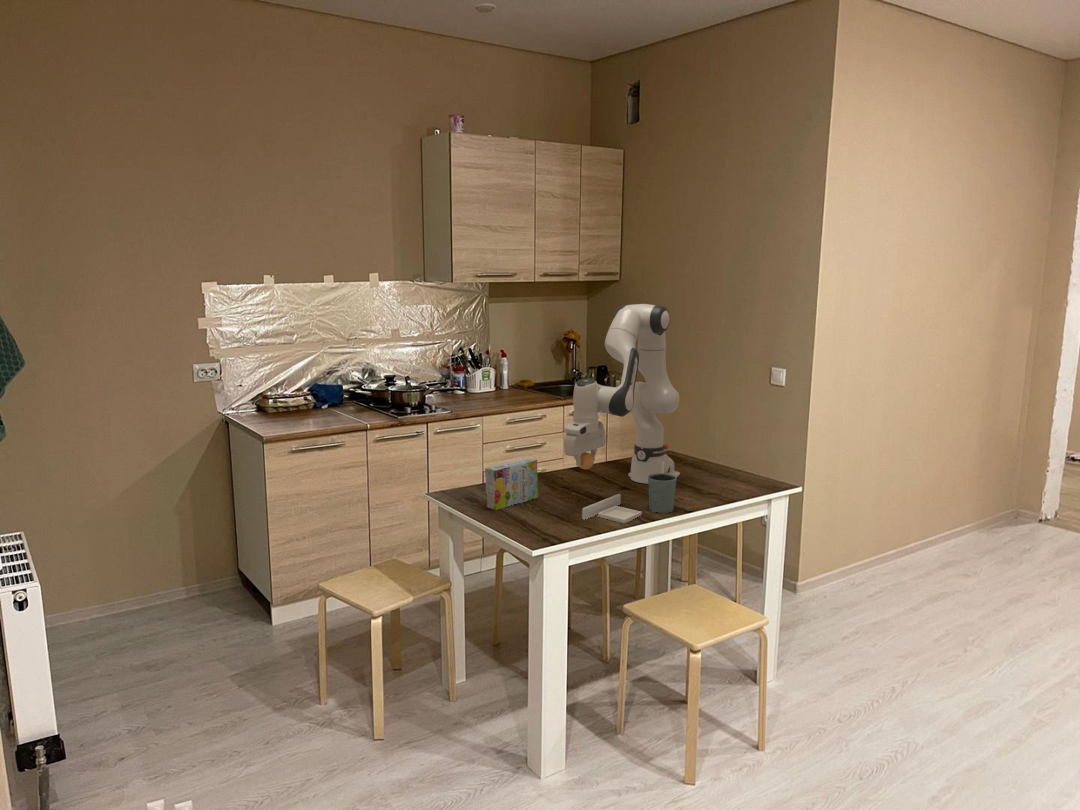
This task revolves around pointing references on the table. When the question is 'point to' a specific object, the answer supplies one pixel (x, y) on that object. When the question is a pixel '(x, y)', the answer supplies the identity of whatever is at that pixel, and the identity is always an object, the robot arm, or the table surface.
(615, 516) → the square tray
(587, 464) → the ball
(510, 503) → the snack box
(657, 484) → the grey green cup
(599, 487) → the table surface
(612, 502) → the low wall
